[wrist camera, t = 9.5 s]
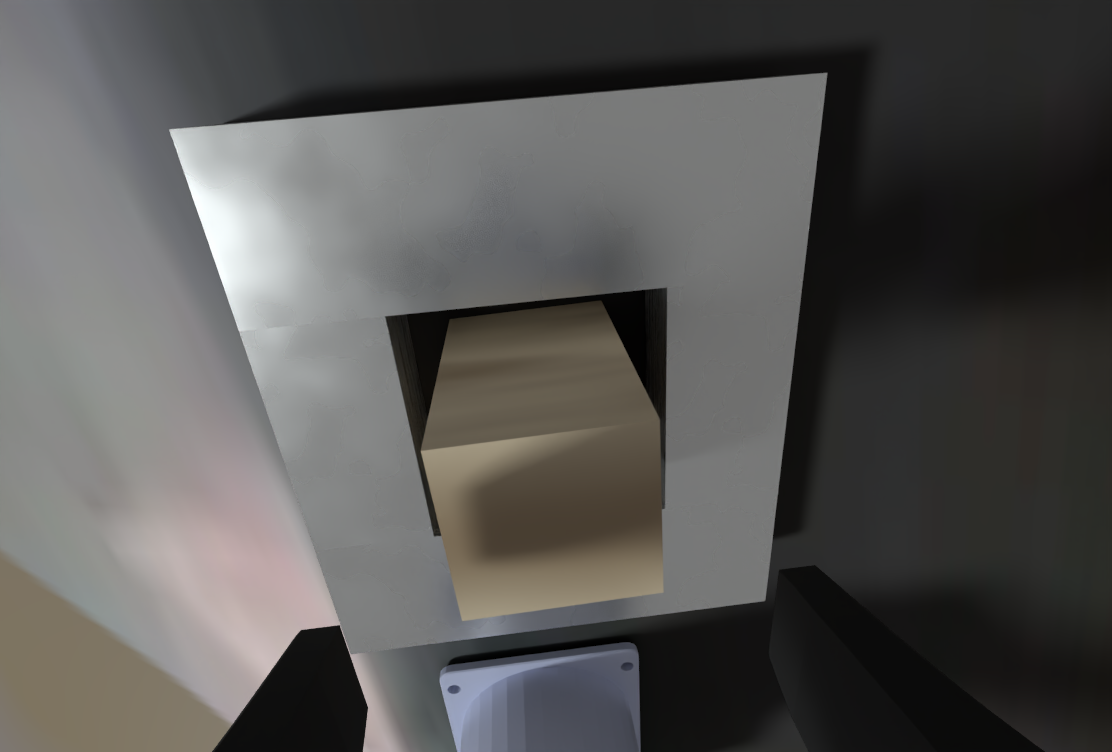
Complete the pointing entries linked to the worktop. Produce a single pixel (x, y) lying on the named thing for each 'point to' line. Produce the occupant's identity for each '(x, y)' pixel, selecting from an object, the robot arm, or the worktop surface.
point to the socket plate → (512, 277)
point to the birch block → (544, 463)
